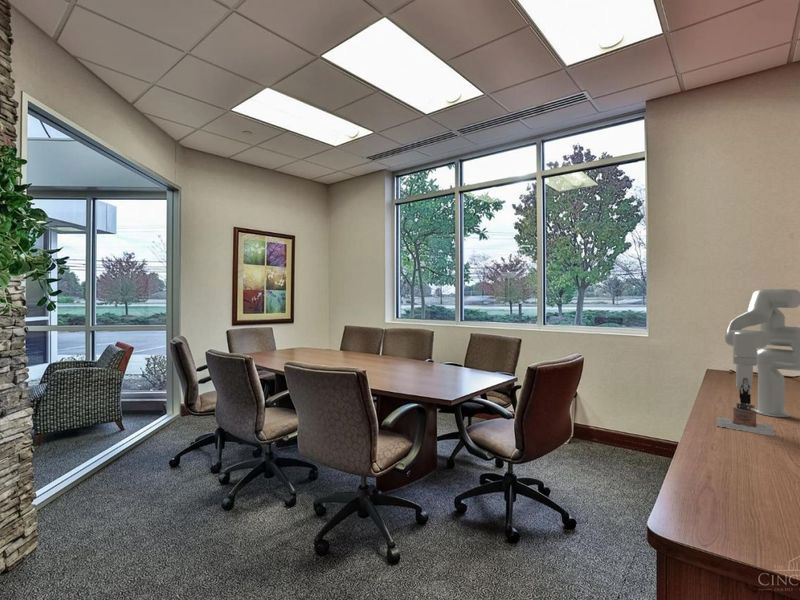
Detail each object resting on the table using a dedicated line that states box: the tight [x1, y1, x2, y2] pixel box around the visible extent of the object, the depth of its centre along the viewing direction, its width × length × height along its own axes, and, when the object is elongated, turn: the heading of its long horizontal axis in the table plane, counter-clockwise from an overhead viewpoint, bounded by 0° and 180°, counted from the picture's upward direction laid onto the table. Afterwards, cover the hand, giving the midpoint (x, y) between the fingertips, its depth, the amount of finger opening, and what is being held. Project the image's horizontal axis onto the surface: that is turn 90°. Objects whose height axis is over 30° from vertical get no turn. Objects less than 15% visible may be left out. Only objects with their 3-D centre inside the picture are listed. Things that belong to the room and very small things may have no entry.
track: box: [716, 416, 776, 437], centre depth 168 cm, size 12×18×2 cm, turn 51°
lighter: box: [732, 402, 758, 427], centre depth 168 cm, size 8×3×10 cm, turn 28°
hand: (744, 401), depth 168 cm, fingers open, 9 cm apart
